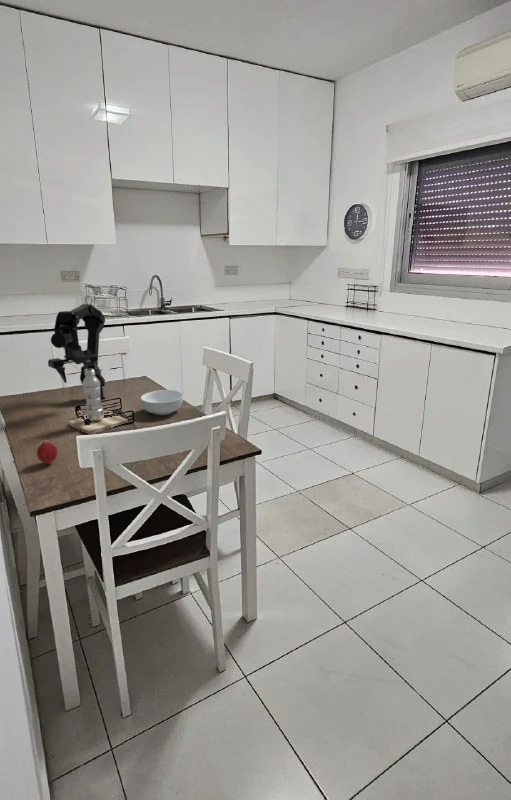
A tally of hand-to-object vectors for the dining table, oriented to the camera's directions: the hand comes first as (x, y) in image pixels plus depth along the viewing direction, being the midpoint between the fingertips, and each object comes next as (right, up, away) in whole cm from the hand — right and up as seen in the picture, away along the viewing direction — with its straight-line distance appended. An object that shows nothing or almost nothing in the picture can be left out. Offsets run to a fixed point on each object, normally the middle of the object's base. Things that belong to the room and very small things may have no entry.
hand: (76, 380), depth 192 cm
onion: (+9, -28, -45) cm, 54 cm away
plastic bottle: (+12, -16, -12) cm, 24 cm away
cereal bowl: (+36, -13, 0) cm, 38 cm away
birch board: (+13, -17, -12) cm, 25 cm away
